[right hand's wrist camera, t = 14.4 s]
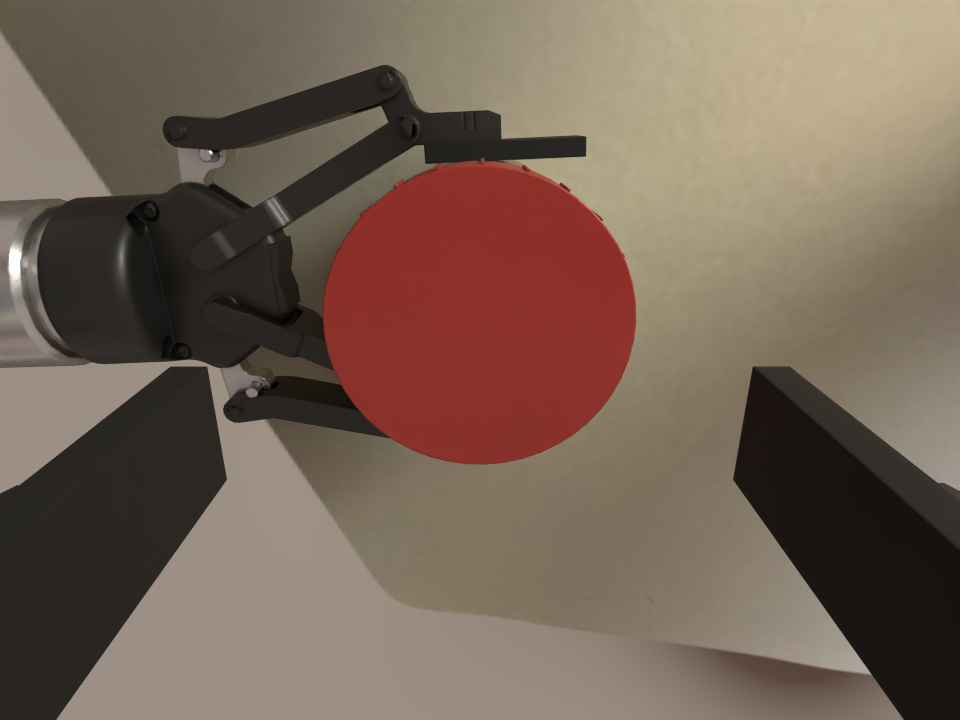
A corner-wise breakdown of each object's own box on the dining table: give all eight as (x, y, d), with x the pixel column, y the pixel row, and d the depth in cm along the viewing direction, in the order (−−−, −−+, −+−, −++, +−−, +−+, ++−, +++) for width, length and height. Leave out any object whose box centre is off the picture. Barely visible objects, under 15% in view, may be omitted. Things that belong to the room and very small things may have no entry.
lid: (646, 172, 20) (667, 179, 17) (598, 443, 23) (610, 477, 21) (338, 144, 19) (319, 147, 17) (337, 422, 23) (322, 455, 21)
